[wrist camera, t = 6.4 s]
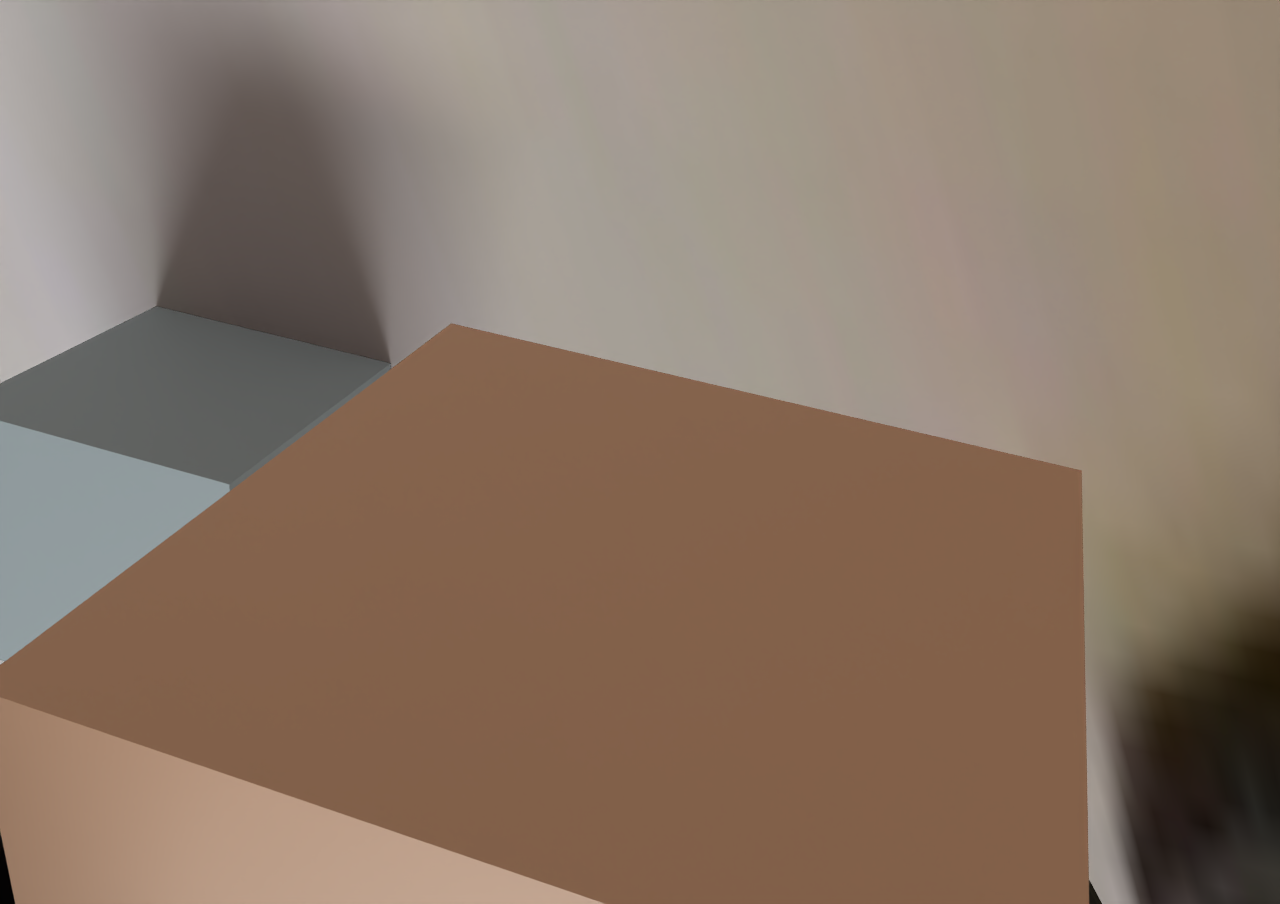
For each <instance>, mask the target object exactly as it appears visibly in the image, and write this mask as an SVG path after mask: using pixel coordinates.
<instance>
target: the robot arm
mask: <svg viewBox="0 0 1280 904" xmlns="http://www.w3.org/2000/svg"><path fill="white" fill-rule="evenodd" d="M0 904H15V900H14V895H13V891H12V886H11V881H10V876H9V871H8V866H7V861H6V856H5V851H4V847H3V842H2V837H1V832H0ZM1089 904H1102V903H1101V901H1100V899H1099V897H1098V895H1097V894H1096V892H1095V890H1094V888H1093V886H1092V884H1091V882H1090V881H1089Z"/></svg>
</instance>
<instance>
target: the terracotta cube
mask: <svg viewBox="0 0 1280 904" xmlns="http://www.w3.org/2000/svg"><path fill="white" fill-rule="evenodd" d="M0 832H1V837H2V842H3V847H4V851H5V856H6V861H7V866H8V871H9V876H10V881H11V886H12V891H13V895H14V900H15V904H1089V867H1088V810H1087V753H1086V696H1085V639H1084V582H1083V524H1082V471H1081V470H1077V469H1073V468H1068V467H1064V466H1060V465H1055V464H1051V463H1047V462H1043V461H1038V460H1034V459H1030V458H1025V457H1021V456H1017V455H1013V454H1008V453H1004V452H1000V451H995V450H991V449H987V448H983V447H978V446H974V445H970V444H965V443H961V442H957V441H953V440H948V439H944V438H940V437H935V436H931V435H927V434H923V433H918V432H914V431H910V430H905V429H901V428H897V427H893V426H888V425H884V424H880V423H875V422H871V421H867V420H863V419H858V418H854V417H850V416H845V415H841V414H837V413H833V412H828V411H824V410H820V409H815V408H811V407H807V406H803V405H798V404H794V403H790V402H785V401H781V400H777V399H773V398H768V397H764V396H760V395H755V394H751V393H747V392H743V391H738V390H734V389H730V388H725V387H721V386H717V385H713V384H708V383H704V382H700V381H695V380H691V379H687V378H683V377H678V376H674V375H670V374H665V373H661V372H657V371H653V370H648V369H644V368H640V367H635V366H631V365H627V364H623V363H618V362H614V361H610V360H605V359H601V358H597V357H593V356H588V355H584V354H580V353H575V352H571V351H567V350H563V349H558V348H554V347H550V346H546V345H541V344H537V343H533V342H528V341H524V340H520V339H516V338H511V337H507V336H503V335H498V334H494V333H490V332H486V331H481V330H477V329H473V328H468V327H464V326H460V325H456V324H450V325H449V326H447V327H446V328H445V329H443V330H442V331H441V332H439V333H438V334H437V335H435V336H434V337H433V338H431V339H430V340H429V341H427V342H426V343H425V344H424V345H422V346H421V347H420V348H418V349H417V350H416V351H414V352H413V353H412V354H410V355H409V356H408V357H406V358H405V359H404V360H402V361H401V362H400V363H398V364H397V365H396V366H394V367H393V368H392V369H390V370H389V371H388V372H387V373H385V374H384V375H383V376H381V377H380V378H379V379H377V380H376V381H375V382H373V383H372V384H371V385H369V386H368V387H367V388H365V389H364V390H363V391H361V392H360V393H359V394H357V395H356V396H355V397H354V398H352V399H351V400H350V401H348V402H347V403H346V404H344V405H343V406H342V407H340V408H339V409H338V410H336V411H335V412H334V413H332V414H331V415H330V416H328V417H327V418H326V419H324V420H323V421H322V422H321V423H319V424H318V425H317V426H315V427H314V428H313V429H311V430H310V431H309V432H307V433H306V434H305V435H303V436H302V437H301V438H299V439H298V440H297V441H295V442H294V443H293V444H291V445H290V446H289V447H287V448H286V449H285V450H284V451H282V452H281V453H280V454H278V455H277V456H276V457H274V458H273V459H272V460H270V461H269V462H268V463H266V464H265V465H264V466H262V467H261V468H260V469H258V470H257V471H256V472H254V473H253V474H252V475H251V476H249V477H248V478H247V479H245V480H244V481H243V482H241V483H240V484H239V485H237V486H236V487H235V488H233V489H232V490H231V491H229V492H228V493H227V494H225V495H224V496H223V497H221V498H220V499H219V500H218V501H216V502H215V503H214V504H212V505H211V506H210V507H208V508H207V509H206V510H204V511H203V512H202V513H200V514H199V515H198V516H196V517H195V518H194V519H192V520H191V521H190V522H188V523H187V524H186V525H184V526H183V527H182V528H181V529H179V530H178V531H177V532H175V533H174V534H173V535H171V536H170V537H169V538H167V539H166V540H165V541H163V542H162V543H161V544H159V545H158V546H157V547H155V548H154V549H153V550H151V551H150V552H149V553H148V554H146V555H145V556H144V557H142V558H141V559H140V560H138V561H137V562H136V563H134V564H133V565H132V566H130V567H129V568H128V569H126V570H125V571H124V572H122V573H121V574H120V575H118V576H117V577H116V578H115V579H113V580H112V581H111V582H109V583H108V584H107V585H105V586H104V587H103V588H101V589H100V590H99V591H97V592H96V593H95V594H93V595H92V596H91V597H89V598H88V599H87V600H85V601H84V602H83V603H81V604H80V605H79V606H78V607H76V608H75V609H74V610H72V611H71V612H70V613H68V614H67V615H66V616H64V617H63V618H62V619H60V620H59V621H58V622H56V623H55V624H54V625H52V626H51V627H50V628H48V629H47V630H46V631H45V632H43V633H42V634H41V635H39V636H38V637H37V638H35V639H34V640H33V641H31V642H30V643H29V644H27V645H26V646H25V647H23V648H22V649H21V650H19V651H18V652H17V653H15V654H14V655H13V656H12V657H10V658H9V659H8V660H6V661H5V662H4V663H2V664H1V665H0Z"/></svg>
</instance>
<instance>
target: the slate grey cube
mask: <svg viewBox="0 0 1280 904" xmlns="http://www.w3.org/2000/svg"><path fill="white" fill-rule="evenodd" d="M390 369H391V363H387V362H383V361H379V360H375V359H371V358H366V357H362V356H358V355H354V354H350V353H346V352H342V351H338V350H334V349H330V348H325V347H321V346H317V345H313V344H309V343H305V342H301V341H297V340H293V339H289V338H284V337H280V336H276V335H272V334H268V333H264V332H260V331H256V330H252V329H248V328H243V327H239V326H235V325H231V324H227V323H223V322H219V321H215V320H211V319H207V318H202V317H198V316H194V315H190V314H186V313H182V312H178V311H174V310H170V309H166V308H161V307H157V306H156V307H154V308H152V309H150V310H148V311H146V312H144V313H142V314H140V315H138V316H136V317H134V318H132V319H130V320H128V321H125V322H123V323H121V324H119V325H117V326H115V327H113V328H111V329H109V330H107V331H105V332H103V333H101V334H99V335H97V336H95V337H93V338H91V339H89V340H87V341H85V342H83V343H81V344H79V345H77V346H75V347H73V348H71V349H69V350H67V351H65V352H63V353H61V354H59V355H57V356H55V357H53V358H51V359H49V360H47V361H45V362H43V363H41V364H39V365H37V366H35V367H33V368H30V369H28V370H26V371H24V372H22V373H20V374H18V375H16V376H14V377H12V378H10V379H8V380H6V381H4V382H2V383H0V660H2V661H6V660H8V659H9V658H10V657H12V656H13V655H14V654H15V653H17V652H18V651H19V650H21V649H22V648H23V647H25V646H26V645H27V644H29V643H30V642H31V641H33V640H34V639H35V638H37V637H38V636H39V635H41V634H42V633H43V632H45V631H46V630H47V629H48V628H50V627H51V626H52V625H54V624H55V623H56V622H58V621H59V620H60V619H62V618H63V617H64V616H66V615H67V614H68V613H70V612H71V611H72V610H74V609H75V608H76V607H78V606H79V605H80V604H81V603H83V602H84V601H85V600H87V599H88V598H89V597H91V596H92V595H93V594H95V593H96V592H97V591H99V590H100V589H101V588H103V587H104V586H105V585H107V584H108V583H109V582H111V581H112V580H113V579H115V578H116V577H117V576H118V575H120V574H121V573H122V572H124V571H125V570H126V569H128V568H129V567H130V566H132V565H133V564H134V563H136V562H137V561H138V560H140V559H141V558H142V557H144V556H145V555H146V554H148V553H149V552H150V551H151V550H153V549H154V548H155V547H157V546H158V545H159V544H161V543H162V542H163V541H165V540H166V539H167V538H169V537H170V536H171V535H173V534H174V533H175V532H177V531H178V530H179V529H181V528H182V527H183V526H184V525H186V524H187V523H188V522H190V521H191V520H192V519H194V518H195V517H196V516H198V515H199V514H200V513H202V512H203V511H204V510H206V509H207V508H208V507H210V506H211V505H212V504H214V503H215V502H216V501H218V500H219V499H220V498H221V497H223V496H224V495H225V494H227V493H228V492H229V491H231V490H232V489H233V488H235V487H236V486H237V485H239V484H240V483H241V482H243V481H244V480H245V479H247V478H248V477H249V476H251V475H252V474H253V473H254V472H256V471H257V470H258V469H260V468H261V467H262V466H264V465H265V464H266V463H268V462H269V461H270V460H272V459H273V458H274V457H276V456H277V455H278V454H280V453H281V452H282V451H284V450H285V449H286V448H287V447H289V446H290V445H291V444H293V443H294V442H295V441H297V440H298V439H299V438H301V437H302V436H303V435H305V434H306V433H307V432H309V431H310V430H311V429H313V428H314V427H315V426H317V425H318V424H319V423H321V422H322V421H323V420H324V419H326V418H327V417H328V416H330V415H331V414H332V413H334V412H335V411H336V410H338V409H339V408H340V407H342V406H343V405H344V404H346V403H347V402H348V401H350V400H351V399H352V398H354V397H355V396H356V395H357V394H359V393H360V392H361V391H363V390H364V389H365V388H367V387H368V386H369V385H371V384H372V383H373V382H375V381H376V380H377V379H379V378H380V377H381V376H383V375H384V374H385V373H387V372H388V371H389V370H390Z"/></svg>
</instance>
